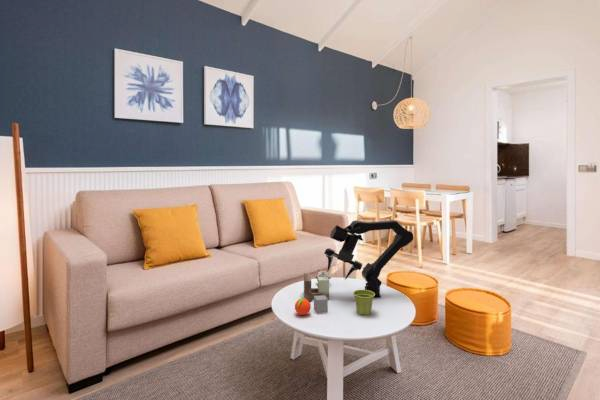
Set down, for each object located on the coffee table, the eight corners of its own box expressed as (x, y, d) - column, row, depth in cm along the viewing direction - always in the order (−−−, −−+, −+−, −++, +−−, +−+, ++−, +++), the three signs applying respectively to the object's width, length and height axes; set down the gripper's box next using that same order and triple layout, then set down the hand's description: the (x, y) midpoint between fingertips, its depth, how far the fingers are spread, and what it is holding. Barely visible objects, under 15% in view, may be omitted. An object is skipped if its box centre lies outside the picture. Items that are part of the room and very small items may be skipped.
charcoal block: (324, 308, 164) (324, 295, 163) (327, 312, 159) (327, 299, 158) (313, 308, 163) (313, 296, 162) (316, 313, 158) (316, 300, 157)
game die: (325, 290, 197) (335, 275, 198) (324, 290, 189) (335, 274, 190) (311, 281, 199) (321, 265, 200) (310, 280, 191) (320, 264, 192)
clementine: (305, 320, 151) (305, 303, 150) (290, 316, 154) (290, 300, 153) (313, 313, 158) (313, 297, 157) (299, 310, 161) (299, 294, 160)
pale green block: (327, 294, 180) (328, 277, 179) (328, 298, 175) (329, 280, 174) (317, 294, 180) (318, 277, 179) (318, 298, 175) (318, 280, 174)
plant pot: (361, 318, 153) (361, 298, 152) (348, 310, 161) (348, 291, 160) (378, 314, 157) (379, 295, 156) (365, 306, 166) (365, 288, 165)
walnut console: (327, 292, 183) (327, 273, 182) (329, 301, 171) (329, 281, 170) (303, 292, 183) (303, 273, 182) (304, 301, 171) (304, 281, 170)
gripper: (328, 238, 169) (315, 268, 170) (366, 255, 165) (352, 286, 165) (332, 237, 180) (320, 266, 181) (367, 253, 176) (355, 282, 176)
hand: (336, 275), depth 175 cm, fingers open, 9 cm apart
